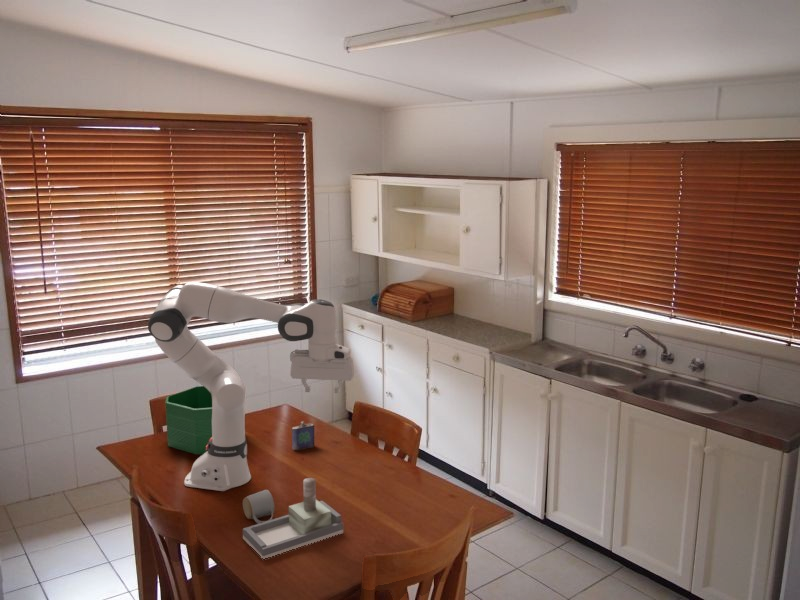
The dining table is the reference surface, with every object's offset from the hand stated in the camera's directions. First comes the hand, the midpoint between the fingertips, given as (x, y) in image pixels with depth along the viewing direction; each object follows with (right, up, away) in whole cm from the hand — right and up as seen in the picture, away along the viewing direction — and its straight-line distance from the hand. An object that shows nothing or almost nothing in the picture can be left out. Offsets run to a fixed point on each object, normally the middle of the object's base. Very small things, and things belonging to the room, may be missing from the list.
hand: (322, 392), depth 224 cm
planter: (-53, -27, +56) cm, 81 cm away
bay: (-7, -41, -16) cm, 44 cm away
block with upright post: (-2, -39, -13) cm, 41 cm away
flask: (-13, -28, +49) cm, 58 cm away
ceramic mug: (-19, -39, -5) cm, 43 cm away
